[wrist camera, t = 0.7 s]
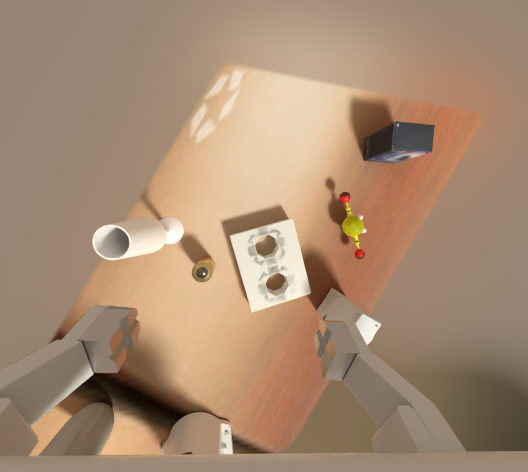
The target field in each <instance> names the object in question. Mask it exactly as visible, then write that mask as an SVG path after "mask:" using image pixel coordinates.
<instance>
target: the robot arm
mask: <svg viewBox="0 0 528 472" xmlns="http://www.w3.org/2000/svg"><path fill="white" fill-rule="evenodd" d="M137 315H138V314H137V309H136V308H128V307H117V306H103V305H95V306H93V307H92V308H91V309H90V310H89V311H88V312H87V313H86V314H85V315H84V316H83V317H82V318H81V319H80V320H79V321H78V323H77V324H76V325H75V326H74V327H73V328H72V329H71V330H70V331H69V332H68V333H67V334H66V335H65V336H64V338H63V339H62V340H56V341H54V342H52V343H50V344H48V345H46V346H45V347H43V348H41V349H39V350H37V351H35V352H34V353H31V354H30V355H28V356H26V357H24V358H22V359H20V360H18V361H16V362H15V363H13V364H11V365H9V366H7V367H5V368H3V369H2V370H0V472H528V452H466V451H465V449H464V448H463V446H462V445H461V443H460V442H459V440H458V439H457V437H456V436H455V434H454V433H453V431H452V430H451V428H450V427H449V425H448V424H447V422H446V421H445V419H444V418H443V416H442V415H441V413H440V412H439V410H438V409H437V407H436V406H435V405H434V404H433V403H432V402H431V401H429V400H428V399H427V398H426V397H425V396H424V395H422V394H421V393H420V392H419V391H418V390H417V389H415V388H414V387H413V386H412V385H411V384H409V383H408V382H407V381H406V380H405V379H403V378H402V377H401V376H400V375H398V373H396V372H395V371H394V370H393V369H392V368H390V367H389V366H388V365H387V364H386V363H385V362H383V361H382V360H381V359H380V358H379V357H378V356H376V355H372V353H371V351H370V350H369V348H368V346H367V344H366V342H365V340H364V339H363V337H362V335H361V333H360V331H359V329H358V328H357V326H356V324H355V323H354V322H351V321H335V320H321V321H320V323H319V325H318V326H319V329H320V330H318V331H317V332H316V334H315V337H314V346H315V351H316V354H317V355H318V356H319V357H320V358H321V360H320V363H319V365H320V368H321V372H322V375H323V378H324V379H326V380H342V381H343V383H344V384H345V385H346V387H347V388H348V389H349V390H350V392H351V393H352V394H353V395H354V396H355V398H356V399H357V400H358V402H359V403H360V404H361V406H362V407H363V408H364V409H365V411H366V412H367V413H368V414H369V416H370V417H371V418H372V419H373V421H374V422H375V423H376V424H377V426H378V427H379V428H380V429H379V430H378V431H377V432H376V434H375V435H374V436H373V438H372V444H373V446H374V448H375V451H376V453H302V454H301V453H300V454H233V445H232V435H231V424H230V422H229V421H227V420H221V419H218V418H216V417H215V416H213V415H211V414H209V413H204V412H196V413H191V414H188V415H186V416H184V417H182V418H181V419H179V420H178V421H177V422H176V423H175V425H174V426H173V428H172V429H171V432H170V435H169V438H168V439H167V440H166V441H165V443H164V444H163V446H162V449H161V453H162V454H163V455H85V456H29V455H30V453H31V452H32V450H33V449H34V447H35V446H36V444H37V443H38V436H37V435H36V434H35V432H34V431H33V430H32V428H31V426H32V425H33V424H34V423H35V422H37V421H38V420H39V419H40V418H41V417H43V416H44V415H45V414H46V413H47V412H49V411H50V410H51V409H52V408H53V407H55V406H56V405H57V404H58V403H59V402H61V401H62V400H63V399H64V398H65V397H67V396H68V395H69V394H70V393H72V392H73V391H74V390H75V389H76V388H78V387H79V386H80V385H81V384H82V383H84V382H85V381H86V380H87V379H88V378H90V377H91V376H92V375H93V374H94V373H118V372H119V370H120V368H121V366H122V364H123V363H124V361H125V359H126V357H127V352H126V350H128V349H129V348H130V347H132V346H133V345H134V343H135V341H136V339H137V337H138V334H139V327H140V325H139V321H137V320H136V319H135V318H136V316H137Z"/></svg>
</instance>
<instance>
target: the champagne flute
mask: <svg viewBox="0 0 528 472" xmlns="http://www.w3.org/2000/svg"><path fill="white" fill-rule="evenodd" d="M183 233H184V230H183V226H182V224H181V223H180V222H179V221H178V220H177V219H175V218H172V217H166V218H163V219H161V220H160V221H158V220H156V219H154V218H150V217H142V218H138V219H133V220H128V221H124V222H119V223H115V224H110V225H106V226H103V227H101V228H99V229H98V230H97V231H96V232H95V234H94V236H93V247H94V249H95V251H96V252H97V254H99V255H100V256H101V257H103V258H105V259H108V260H118V259H123V258H128V257H133V256H138V255H143V254H148V253H153V252H156V251H158V250H159V249H160V248H162V246H163V245H164V243H166V244H174V243H176V242H178V241H179V240H180V239H181V238H182V236H183Z"/></svg>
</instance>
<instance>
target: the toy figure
mask: <svg viewBox="0 0 528 472" xmlns="http://www.w3.org/2000/svg"><path fill="white" fill-rule="evenodd" d="M340 200H341V201H342V202H343V203H346V208H345V209H346V211H347V218H346V219H345V220H344V221H343V222H342V230H343V232H344V233H345V234H347V235H349V236H352V237H353V239H354V241H355V243H354V244H355V245H356V246H357V248H358V249H357V250H356V251H355V257H356V258H357V259H362V258H364V256H365V254H364V253H365V252H364V251H363V250H362V249H359V242H358V235H359V234H360V233H361V232H362V233H365V232H366V229H365V228H364V223H363V221H362V219H363V216H362V215H358V217H357V216H353V215H352V213H351V211H350V207H349V206H348V204H347V202H348V201H349V200H350V194H349V193H347V192H343V193H341V195H340Z"/></svg>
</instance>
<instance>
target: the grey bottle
mask: <svg viewBox="0 0 528 472" xmlns="http://www.w3.org/2000/svg"><path fill="white" fill-rule="evenodd" d="M113 424H114V413H113V410H112V408H111V407H110V406H109V405H108V404H105V403H100V402H96V403H92V404H89V405H87V406H85V407H84V408H82V409H81V410H79V411H78V412H77V413H76V414H74V415H73V416H72V417H71V418H70V419H69V420H68V421H67V423H66V424H65V425H64V426H63V427H62V428H61V430H60V431H59V432H58V433H57V434H56V436H55V437H54V438H53V439H52V440H51V442H50V443H49V444H48V445H47V446H46V447H45V449H44V450H43V451H42V452H41V453H40V454H39V456H85V455H100V453H101V451H102V449H103V447H104V446H105V444H106V442H107V440H108V438H109V436H110V434H111V431H112V428H113Z"/></svg>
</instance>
